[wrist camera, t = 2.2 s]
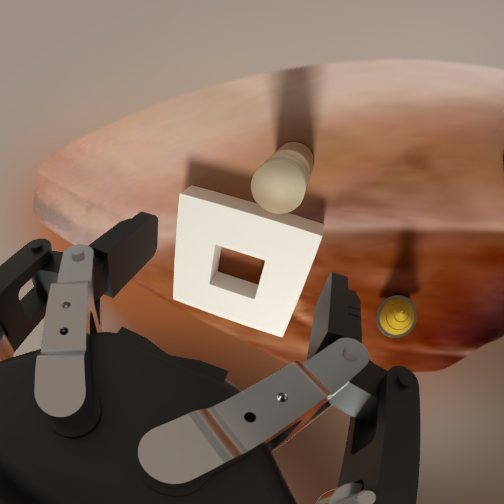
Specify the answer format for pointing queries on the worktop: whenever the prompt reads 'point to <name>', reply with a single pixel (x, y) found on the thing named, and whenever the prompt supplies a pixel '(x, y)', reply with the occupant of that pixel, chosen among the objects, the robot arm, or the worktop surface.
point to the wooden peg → (283, 178)
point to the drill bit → (396, 316)
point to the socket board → (247, 242)
